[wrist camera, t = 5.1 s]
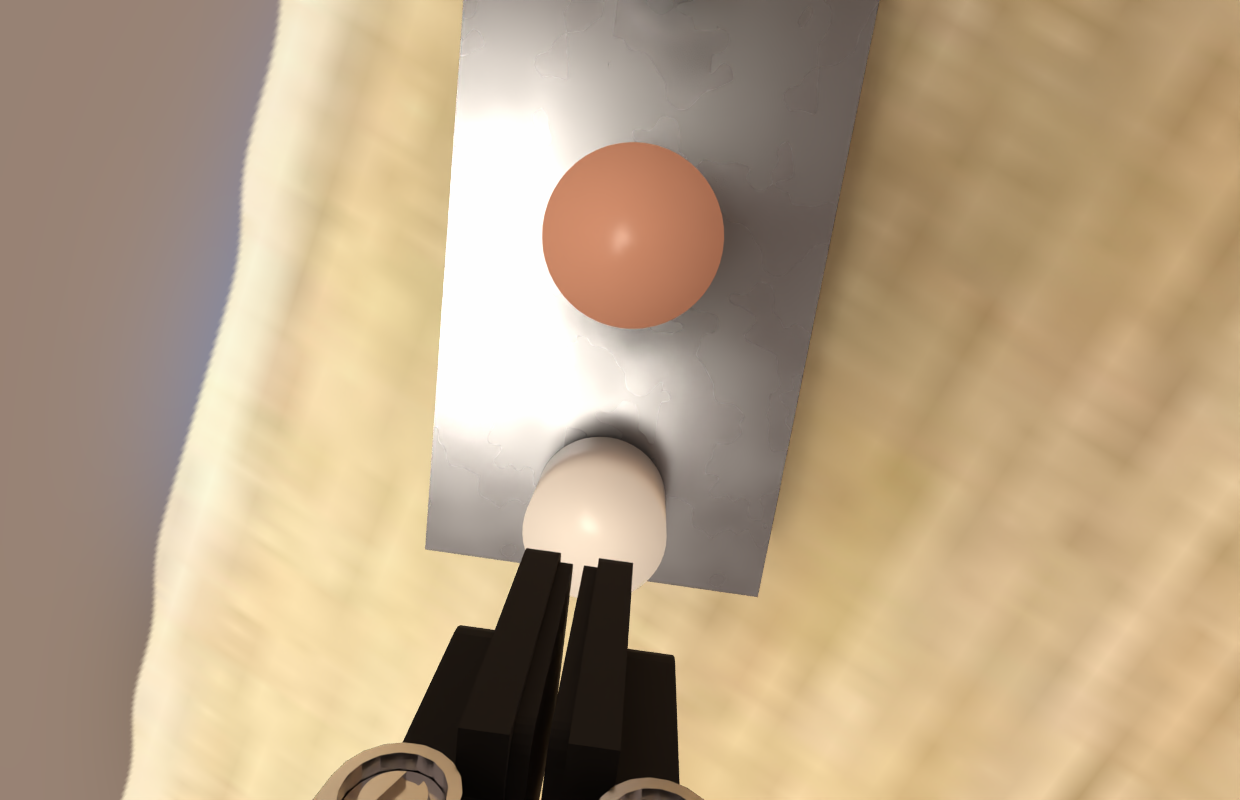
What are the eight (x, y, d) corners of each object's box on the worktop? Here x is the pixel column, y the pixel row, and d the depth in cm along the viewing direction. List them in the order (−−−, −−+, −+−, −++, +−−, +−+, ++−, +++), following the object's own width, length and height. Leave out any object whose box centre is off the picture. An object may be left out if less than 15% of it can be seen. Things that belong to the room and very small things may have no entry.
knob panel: (514, -157, 25) (480, -246, 20) (865, -110, 24) (918, -189, 20) (461, 496, 31) (425, 549, 26) (741, 535, 31) (757, 596, 26)
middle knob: (583, 155, 25) (552, 130, 17) (712, 172, 25) (738, 155, 17) (569, 284, 26) (533, 315, 18) (691, 300, 26) (707, 340, 18)
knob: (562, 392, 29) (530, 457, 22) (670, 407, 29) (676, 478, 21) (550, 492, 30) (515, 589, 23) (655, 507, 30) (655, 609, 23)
